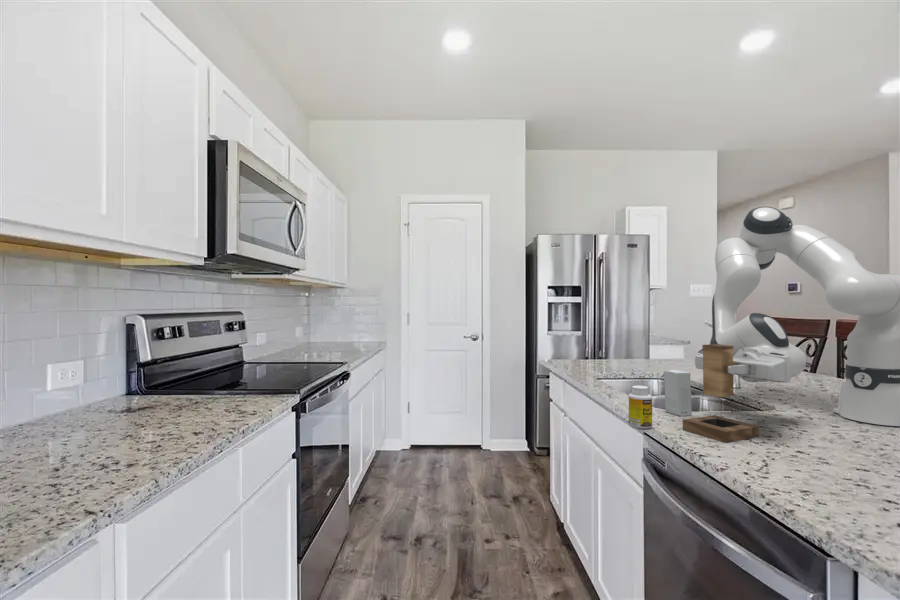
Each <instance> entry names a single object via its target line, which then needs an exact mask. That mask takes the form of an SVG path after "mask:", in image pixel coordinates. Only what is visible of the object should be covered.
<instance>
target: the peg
mask: <svg viewBox="0 0 900 600" xmlns="http://www.w3.org/2000/svg"><path fill="white" fill-rule="evenodd" d="M702 355H703V370H702V375H703V377H702V386H703V391H702V393H703V394H704V395H709V396H713V397H717V398H725V397H731V396H735V395H734V394H735V393H734V388H735V387H734V374H730V373H725V372H724V370H725V369H724V367H725V365H733V346H732V345H720V344H710V343H709V344H702Z"/></svg>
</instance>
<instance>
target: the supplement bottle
mask: <svg viewBox="0 0 900 600" xmlns="http://www.w3.org/2000/svg"><path fill="white" fill-rule="evenodd" d="M628 424H629V426H630V427H631V428H634V429H639V430H648V429H649V430H650V429H651V428H653V396H652V394H650V389H649V386H648V385H647V386H646V385H633V386H631V393H629V394H628Z"/></svg>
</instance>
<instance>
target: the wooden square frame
mask: <svg viewBox="0 0 900 600" xmlns="http://www.w3.org/2000/svg"><path fill="white" fill-rule="evenodd" d="M682 431H686V432H688V433H692V434H695V435H698V436H702V437H706V438H709V439H712V440H715V441H718V442H721V443H732V442H734V443H735V442H737V441H738V442H739V441H745V440H750V439H754V438H759V437H760V426H759V425H756V424H751V423H747V422H743V421H739V420H736V419H731V418H728V417H727V418H726V417H724V416H719V415H715V414H714V415H705V416H699V417H694V418H693V417H692V418H691V417H690V418H686V419H684V418H683V419H682Z"/></svg>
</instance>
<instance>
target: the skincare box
mask: <svg viewBox="0 0 900 600" xmlns="http://www.w3.org/2000/svg"><path fill="white" fill-rule="evenodd" d="M663 382H664V384H663V385H664V404H665V407H664V408H665V412H667V413H669V414H672V415H675V416H676V415H677V416H679V417H688V416H690V417H691V416H692V415H693V410H692V409H693V407H692V388H691V387H692V385H691V372H688V371H683V370H678V369H666V370H665V369H664V370H663Z"/></svg>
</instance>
